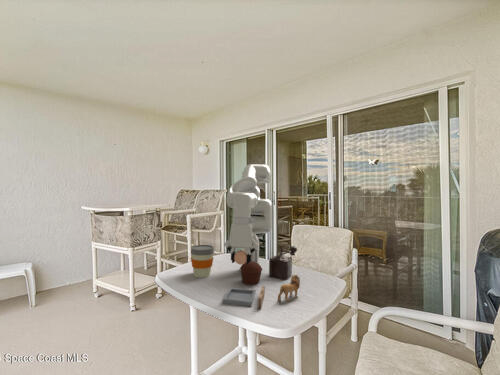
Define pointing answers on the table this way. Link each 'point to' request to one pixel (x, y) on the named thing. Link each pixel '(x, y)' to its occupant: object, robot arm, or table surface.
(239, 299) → the slate dish
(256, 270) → the muffin
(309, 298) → the table surface
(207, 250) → the reusable coffee cup
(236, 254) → the ball
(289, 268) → the manual coffee grinder
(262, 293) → the walnut wall
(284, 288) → the lion figurine
